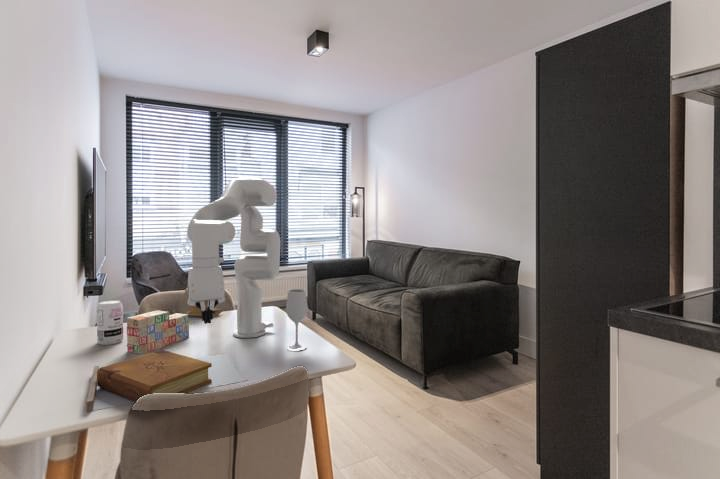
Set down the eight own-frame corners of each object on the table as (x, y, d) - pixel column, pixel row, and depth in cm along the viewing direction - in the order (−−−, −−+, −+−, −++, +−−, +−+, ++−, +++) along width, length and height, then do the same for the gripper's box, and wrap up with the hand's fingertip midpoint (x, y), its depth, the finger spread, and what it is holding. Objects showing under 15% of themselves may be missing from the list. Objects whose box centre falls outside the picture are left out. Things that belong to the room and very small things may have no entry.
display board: (227, 354, 137) (227, 346, 136) (247, 381, 114) (247, 371, 114) (94, 375, 117) (94, 366, 117) (87, 412, 95) (86, 401, 95)
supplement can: (105, 338, 152) (104, 300, 151) (127, 338, 152) (126, 300, 152) (92, 345, 144) (91, 304, 143) (116, 345, 144) (115, 304, 143)
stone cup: (179, 317, 185) (179, 285, 185) (197, 312, 197) (197, 282, 196) (206, 320, 181) (205, 288, 180) (222, 314, 192) (222, 284, 191)
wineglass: (299, 343, 148) (299, 288, 147) (311, 348, 143) (311, 290, 142) (281, 348, 143) (282, 290, 142) (294, 353, 138) (294, 293, 137)
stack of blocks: (177, 335, 157) (177, 305, 156) (189, 338, 154) (189, 306, 154) (126, 352, 137) (126, 317, 137) (139, 354, 135) (138, 319, 134)
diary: (97, 389, 107) (96, 368, 107) (161, 367, 124) (161, 349, 123) (148, 409, 96) (148, 386, 96) (211, 382, 112) (211, 362, 112)
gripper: (228, 259, 126) (229, 316, 128) (177, 262, 119) (179, 322, 120) (234, 262, 120) (235, 322, 121) (180, 266, 112) (182, 329, 114)
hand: (207, 322), depth 121 cm, fingers closed
